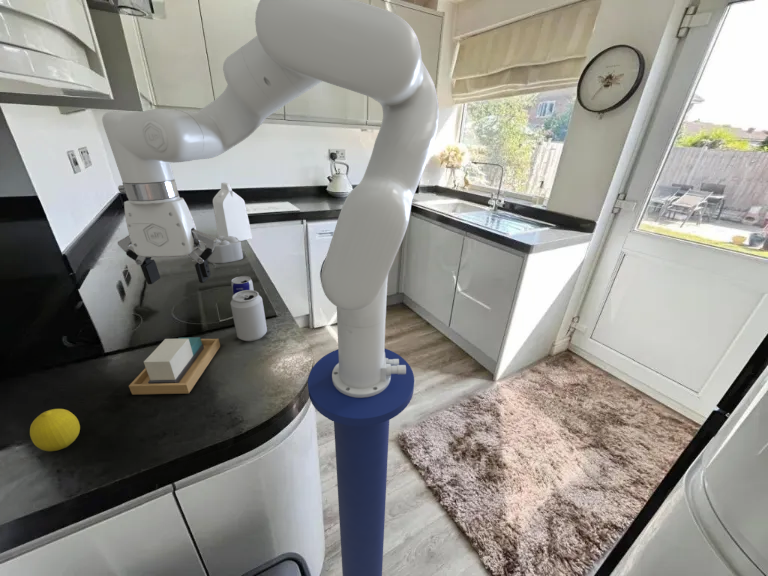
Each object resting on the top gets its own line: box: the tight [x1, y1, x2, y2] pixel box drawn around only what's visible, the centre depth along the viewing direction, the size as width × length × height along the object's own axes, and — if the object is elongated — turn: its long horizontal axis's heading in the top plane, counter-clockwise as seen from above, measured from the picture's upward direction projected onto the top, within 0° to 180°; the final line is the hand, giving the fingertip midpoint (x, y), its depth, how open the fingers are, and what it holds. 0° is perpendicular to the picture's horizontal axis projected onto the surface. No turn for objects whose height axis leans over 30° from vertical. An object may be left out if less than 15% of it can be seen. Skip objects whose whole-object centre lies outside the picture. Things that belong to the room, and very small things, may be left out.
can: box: [229, 290, 268, 342], centre depth 83 cm, size 8×8×12 cm
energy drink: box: [230, 275, 255, 296], centre depth 91 cm, size 5×5×12 cm
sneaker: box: [143, 336, 204, 384], centre depth 71 cm, size 13×5×6 cm, turn 4°
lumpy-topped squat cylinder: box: [204, 235, 244, 264], centre depth 133 cm, size 10×13×9 cm
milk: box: [212, 182, 253, 242], centre depth 154 cm, size 12×12×26 cm
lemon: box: [29, 408, 81, 452], centre depth 53 cm, size 6×6×8 cm
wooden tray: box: [128, 338, 221, 395], centre depth 73 cm, size 11×16×2 cm
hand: (179, 280), depth 64 cm, fingers open, 9 cm apart
